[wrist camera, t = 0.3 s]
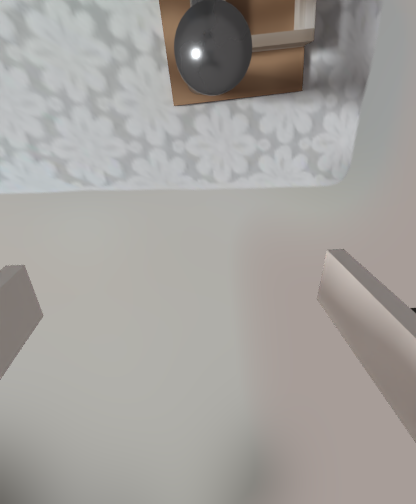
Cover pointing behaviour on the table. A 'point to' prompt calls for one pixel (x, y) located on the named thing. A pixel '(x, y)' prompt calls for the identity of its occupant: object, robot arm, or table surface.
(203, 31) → the bar
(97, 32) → the table surface
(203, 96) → the board
